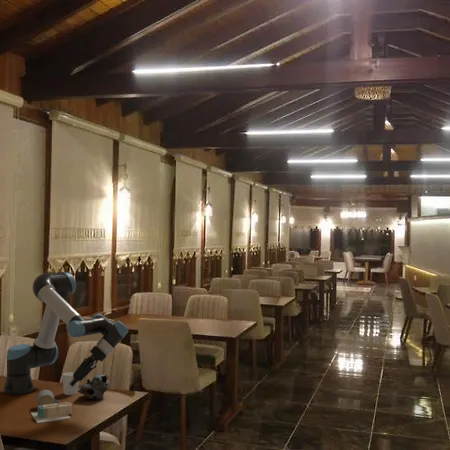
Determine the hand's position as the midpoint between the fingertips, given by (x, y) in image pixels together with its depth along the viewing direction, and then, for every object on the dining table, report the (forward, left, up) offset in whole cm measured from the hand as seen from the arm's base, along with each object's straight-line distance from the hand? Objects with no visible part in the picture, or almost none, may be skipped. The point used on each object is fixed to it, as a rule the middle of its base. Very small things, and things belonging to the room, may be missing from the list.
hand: (65, 390), depth 259 cm
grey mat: (0, -6, -10) cm, 12 cm away
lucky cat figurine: (-20, +19, -11) cm, 29 cm away
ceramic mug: (-14, -4, -11) cm, 18 cm away
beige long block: (0, +3, -8) cm, 8 cm away
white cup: (-33, +11, -11) cm, 36 cm away
